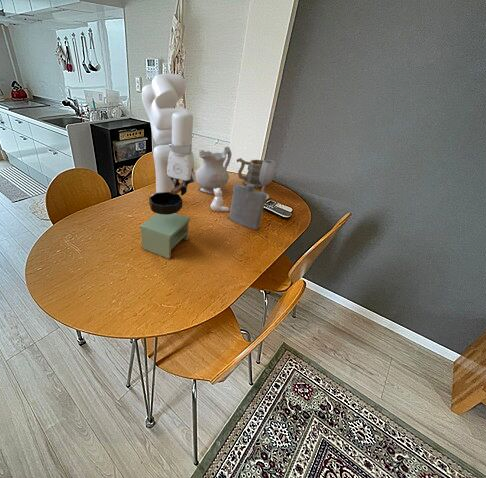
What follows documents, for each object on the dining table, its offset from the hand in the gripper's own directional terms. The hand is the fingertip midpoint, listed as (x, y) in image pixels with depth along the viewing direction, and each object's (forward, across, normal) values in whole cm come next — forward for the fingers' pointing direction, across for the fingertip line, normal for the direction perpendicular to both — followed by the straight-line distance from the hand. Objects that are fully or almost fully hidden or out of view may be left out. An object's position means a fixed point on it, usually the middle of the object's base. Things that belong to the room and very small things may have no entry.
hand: (180, 193), depth 107 cm
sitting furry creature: (+19, +7, +30) cm, 36 cm away
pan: (+1, 0, -7) cm, 7 cm away
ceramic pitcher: (+19, -6, +52) cm, 55 cm away
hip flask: (+19, +23, +22) cm, 37 cm away
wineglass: (+19, +23, +56) cm, 64 cm away
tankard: (+19, +10, +74) cm, 78 cm away
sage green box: (+19, 0, -12) cm, 22 cm away
